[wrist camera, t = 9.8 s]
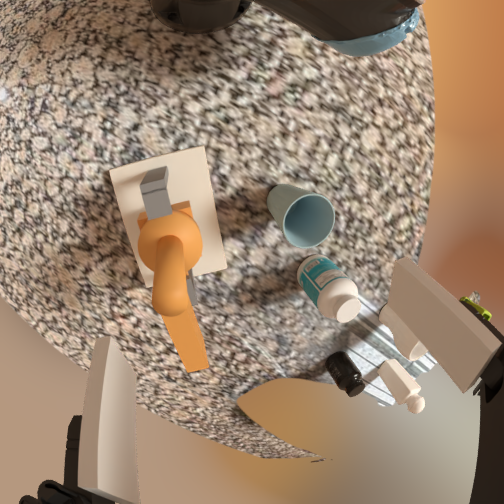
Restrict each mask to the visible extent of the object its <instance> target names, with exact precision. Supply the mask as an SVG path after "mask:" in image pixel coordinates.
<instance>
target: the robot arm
mask: <svg viewBox="0 0 504 504" xmlns="http://www.w3.org/2000/svg"><path fill="white" fill-rule="evenodd" d="M253 1H254V0H150V3H151V8H152V11H153V13H154V14H155V16H156V17H157V18H158V19H159V20H160V21H161V22H162V23H163V24H165V25H166V26H168V27H170V28H172V29H175V30H177V31H181V32H186V33H195V34H201V33H210V32H215V31H219V30H222V29H225V28H227V27H229V26H231V25H233V24H234V23H236V22H237V21H238V20H240V19H241V18H242V17H243V16H244V14H245V13H246V12H247V10H248V9H249V7H250V6H251V4H252V2H253ZM254 2H255V3H257V4H259V5H261V6H263V7H265V8H267V9H269V10H271V11H273V12H275V13H276V14H278V15H280V16H282V17H284V18H286V19H287V20H289V21H291V22H292V23H294V24H296V25H298V26H299V27H301V28H302V29H304V30H306V31H307V32H309V33H310V34H311V36H312V37H314V38H315V39H317V40H318V41H321V42H324V43H326V44H328V45H329V46H331V47H332V48H334V49H335V50H337V51H338V52H340V53H342V54H346V55H349V56H354V57H361V56H369V55H373V54H377V53H380V52H382V51H385V50H387V49H389V48H391V47H393V46H395V45H397V44H398V43H400V42H401V41H403V40H404V39H405V38H406V37H407V36H406V34H407V33H409V32H413V30H414V29H415V28H416V26H417V24H418V21H419V13H418V10H417V7H418V6H419V5H421V4H423V3H425V0H255V1H254ZM387 305H388V306H389V307H390V308H391V309H392V310H393V311H394V312H395V313H396V314H397V316H398V317H399V318H400V319H401V320H402V321H403V322H404V323H405V324H406V326H407V327H408V328H409V329H410V330H411V331H412V332H413V333H414V335H415V336H416V337H417V338H418V339H419V340H420V342H421V343H422V344H423V345H424V346H425V347H426V349H427V350H428V351H429V352H430V353H431V354H432V356H433V357H434V358H435V359H436V360H437V362H438V363H439V364H440V365H441V366H442V368H443V369H444V370H445V371H446V373H447V374H448V375H449V376H450V378H451V379H452V380H453V381H454V383H455V384H456V385H457V386H458V387H459V389H460V390H461V391H462V393H465V392H466V391H467V390H468V389H469V388H471V387H472V386H473V385H474V384H475V382H476V381H477V380H478V378H479V377H481V379H482V380H481V381H480V383H479V384H478V385H477V387H476V388H475V390H474V391H473V395H475V394H476V393H477V392H478V391H479V389H480V391H479V392H478V395H479V396H480V410H481V411H480V434H479V448H478V457H477V465H476V472H475V478H474V483H473V489H472V494H471V498H470V503H469V504H504V336H503V335H502V334H501V333H500V332H499V331H498V330H497V329H496V328H495V327H494V326H493V325H492V324H491V323H490V322H489V321H488V320H487V319H485V318H484V316H483V315H481V314H479V312H478V311H477V310H476V309H475V308H474V307H473V306H472V305H470V304H468V303H466V302H464V301H462V300H461V301H460V302H459V301H458V300H457V299H456V298H455V297H454V296H452V295H451V294H450V293H449V292H448V291H447V290H446V289H445V288H444V287H442V286H441V285H440V284H439V283H438V282H437V281H435V280H434V279H433V278H432V277H431V276H430V275H428V274H427V273H426V272H425V271H424V270H422V269H421V268H420V267H419V266H417V265H416V264H415V263H414V262H413V261H411V260H410V259H409V258H408V257H404V258H401V259H398V260H395V264H394V270H393V276H392V282H391V287H390V292H389V297H388V302H387ZM136 381H137V374H136V373H135V371H134V370H133V369H132V367H131V366H130V364H129V363H128V361H127V360H126V358H125V357H124V355H123V354H122V352H121V351H120V349H119V348H118V346H117V345H116V343H115V341H114V340H113V338H112V337H111V336H108V337H102V338H97V339H96V342H95V346H94V351H93V355H92V360H91V365H90V370H89V376H88V381H87V387H86V393H85V400H84V407H83V414H82V415H80V416H78V415H77V416H73V418H72V420H71V422H70V424H69V426H68V435H67V439H68V441H67V444H66V448H67V450H66V455H65V469H64V484H63V485H61V484H59V483H57V482H55V481H53V480H46V481H44V482H42V484H40V486H39V488H38V492H37V493H38V499H36V498H34V497H32V496H30V495H25V496H23V497H22V498H21V499H20V501H19V504H115V502H116V503H119V504H141V502H140V493H139V483H138V470H137V453H136Z"/></svg>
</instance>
